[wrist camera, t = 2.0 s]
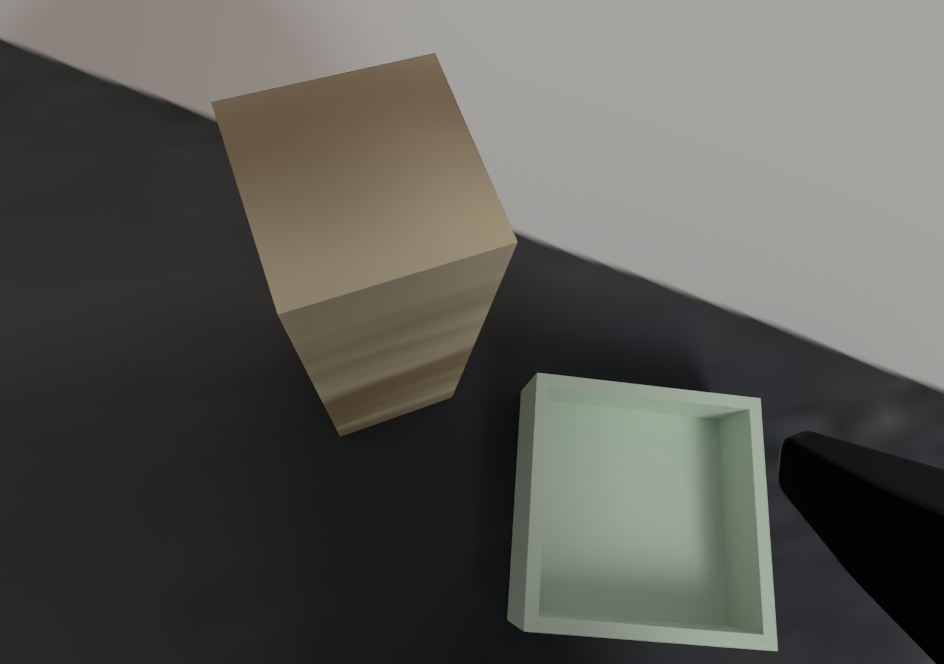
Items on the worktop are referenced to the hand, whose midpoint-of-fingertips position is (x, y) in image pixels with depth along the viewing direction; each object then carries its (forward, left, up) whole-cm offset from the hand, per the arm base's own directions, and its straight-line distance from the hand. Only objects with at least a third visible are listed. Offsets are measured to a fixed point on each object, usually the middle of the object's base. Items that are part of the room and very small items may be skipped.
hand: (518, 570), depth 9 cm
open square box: (-1, -6, -12) cm, 13 cm away
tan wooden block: (+7, 0, -12) cm, 14 cm away
